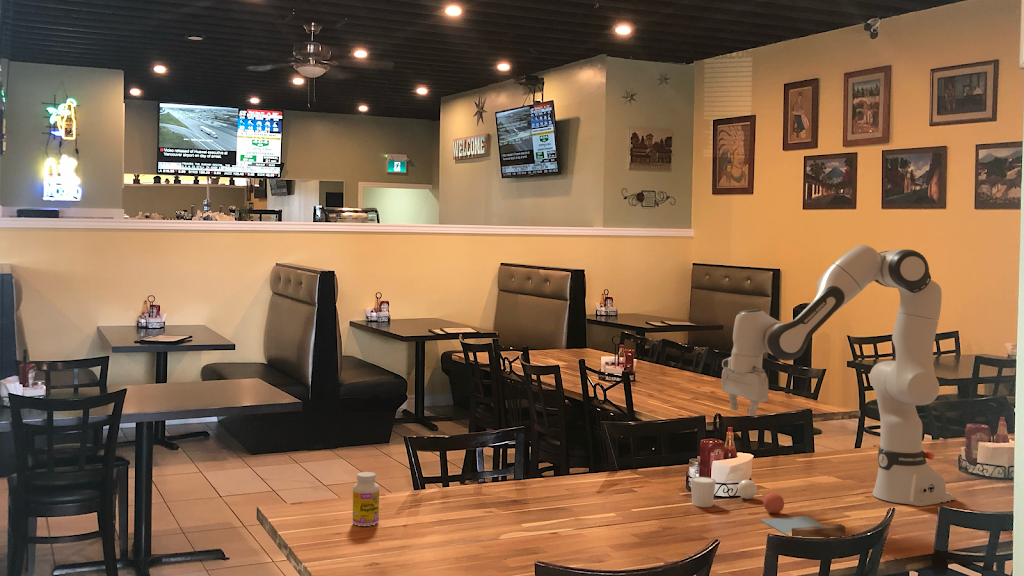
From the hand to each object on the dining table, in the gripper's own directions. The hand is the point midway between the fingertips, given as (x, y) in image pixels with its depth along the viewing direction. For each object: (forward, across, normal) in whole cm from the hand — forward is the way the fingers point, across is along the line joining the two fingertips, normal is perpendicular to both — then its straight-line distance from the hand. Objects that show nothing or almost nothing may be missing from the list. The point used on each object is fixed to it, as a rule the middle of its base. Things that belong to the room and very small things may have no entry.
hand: (742, 412), depth 263 cm
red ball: (+22, -18, -1) cm, 28 cm away
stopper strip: (+25, -39, 0) cm, 46 cm away
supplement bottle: (+32, 0, +107) cm, 111 cm away
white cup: (+25, -6, +14) cm, 29 cm away
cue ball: (+21, -4, -1) cm, 22 cm away
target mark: (+24, -30, -1) cm, 39 cm away
